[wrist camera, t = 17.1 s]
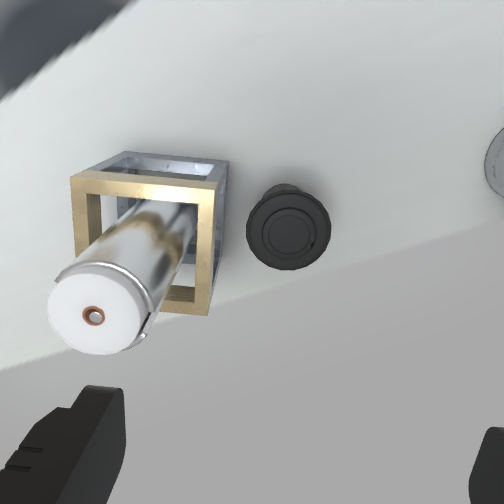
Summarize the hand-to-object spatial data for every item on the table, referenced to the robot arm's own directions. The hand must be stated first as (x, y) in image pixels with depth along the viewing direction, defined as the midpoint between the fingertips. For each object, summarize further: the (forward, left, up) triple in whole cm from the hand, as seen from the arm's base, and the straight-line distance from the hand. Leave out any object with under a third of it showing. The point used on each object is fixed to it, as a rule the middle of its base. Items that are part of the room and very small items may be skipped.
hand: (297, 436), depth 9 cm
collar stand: (+10, +6, -39) cm, 41 cm away
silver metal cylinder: (+10, +6, -39) cm, 41 cm away
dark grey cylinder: (-2, +5, -39) cm, 40 cm away
